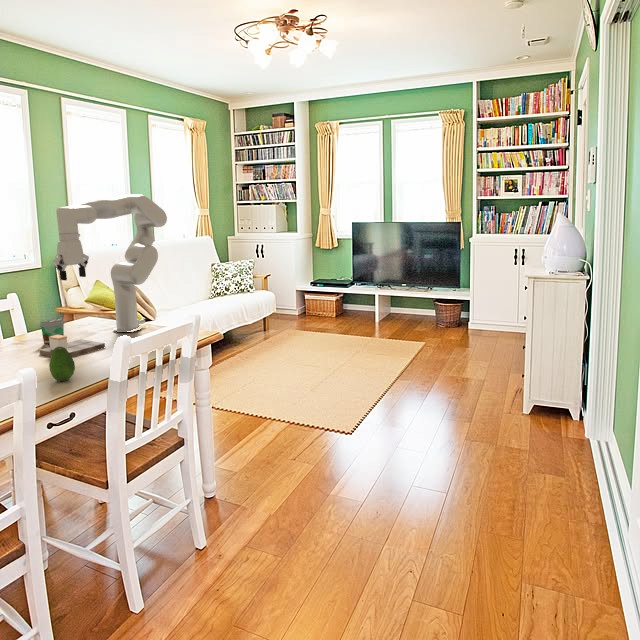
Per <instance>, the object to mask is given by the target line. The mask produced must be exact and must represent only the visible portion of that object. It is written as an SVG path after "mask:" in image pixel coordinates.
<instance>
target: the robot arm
mask: <svg viewBox="0 0 640 640" xmlns="http://www.w3.org/2000/svg"><path fill="white" fill-rule="evenodd" d="M55 212H56V220H57V228H58V229H57V230H58V231H57V232H58V240H59V241H57V244H56V247H57V248H56V257H55V259H53V260H52V264H53V266H54V267H55V269H57V270H58V271H59V278H60V281H67V280H68V277H67V270H66V268H67V266H75V265H78V266H79V267H78V275H79V277H81V278H85V277H87V276H86V275H87V273H86V268H87V265H88V263H89V260H90V259H89V258H90V256H89V255H87V254H85V253H84V251H83V250H84V249H83V245H82V242H81V239H80V237H81V234H80V233H79V225H78V224H81V225H90V224H93V223H94V222H95V221H96V220H108V219H110V220H111V219H115V218H118V217H123V216H128V215H133V214H134V218H133V219H134V223H135V227H136V234H135V236H134V238H133V240H131V242H130V244H129V246H128V247H127V249H126V251H125V252H124V253H125V254H124V258H125V261H126V262H123V261H122V262H121V261H120V262H118V263H115V264H114V265H112V267H111V269H110V278H111V282H112V286H113V292H114V293H113V295H114V309H115V323H116V325H115V327H113V329H112V330H114V331H117V332H127V331H131V330H133V329H136V328H138V327H139V326H141V324H144V323H146V320H145V319H144V318H142V319H141V318H140V319H139V318H138V305H137V303H138V301H137V291H136V288H135V285H136V286H140V285H142V284H144V283H145V282H146V281H147V279H148V278H149V276H150V275H151V273H152V271H153V269H154V268H155V267H156V264H157V262H158V260H159V259H158V258H159V252H158V250H157V249H156V247H155V246H153V244H154V241H155V236H154V232H153V228H161V227H164V226H165V224H166V223H167V221H168V216H167V213H166V211H164V209H163V208H162V207H160V206H159V205H158V204H157V203H155V202H154V200H152V199H150V198H149V197H147V196H146V195H144V194H125V195H121V196H116V197H115V196H114V197H110V198H104V199H100V200H99V199H98V200H95V201H86V202H81V203H76V204H72V205H69V206H60V207H57V208H56V211H55ZM139 324H140V325H139ZM114 331H113V332H114ZM117 332H116V333H117Z"/></svg>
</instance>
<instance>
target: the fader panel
mask: <svg viewBox="0 0 640 640" xmlns="http://www.w3.org/2000/svg"><path fill="white" fill-rule="evenodd" d="M67 347H68V349H66V350H67V351H68V352H69V354H70V355H71V356H72V358H74V357H79V356H81V355H82V356H83V355H85V354H88V352H89V353H92V352H95V350H96V351H99V350H102V349H101V348H103V349H105V348H106V343H104V342H99V341H93V340H87V339H75V340H73V341H67ZM104 347H105V348H104ZM98 349H99V350H98ZM38 352H39V355H40V356H44V355H46V356H45V357H49V356H50V358H51V355H52V352H53V350H50V346H49V347H46V348H41V349H39V351H38Z"/></svg>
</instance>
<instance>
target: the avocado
mask: <svg viewBox="0 0 640 640" xmlns="http://www.w3.org/2000/svg"><path fill="white" fill-rule="evenodd" d="M73 358H74V357H72V356H71V355H70V354H69V352H68V351H67V350H66V349H65V348H64V347H56V348H55V349H54V350H53V352H52V355H51V357H50V360H49V372H50V374H51V376H52V378H53V379H55V381H58V382H65V381H67V380H69V379H71V378H72V377H73V376H74V374H75V370H76V364H75V360H74V359H73Z"/></svg>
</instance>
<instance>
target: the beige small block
mask: <svg viewBox="0 0 640 640" xmlns="http://www.w3.org/2000/svg"><path fill="white" fill-rule="evenodd" d="M67 339H68V336H67V335H64V336H63V335H54V336H50V337H49V341H50V345H49V347H50V350H54V349H55V348H56V347H64V348H65V349H68V347H67V343H68V340H67Z"/></svg>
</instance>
